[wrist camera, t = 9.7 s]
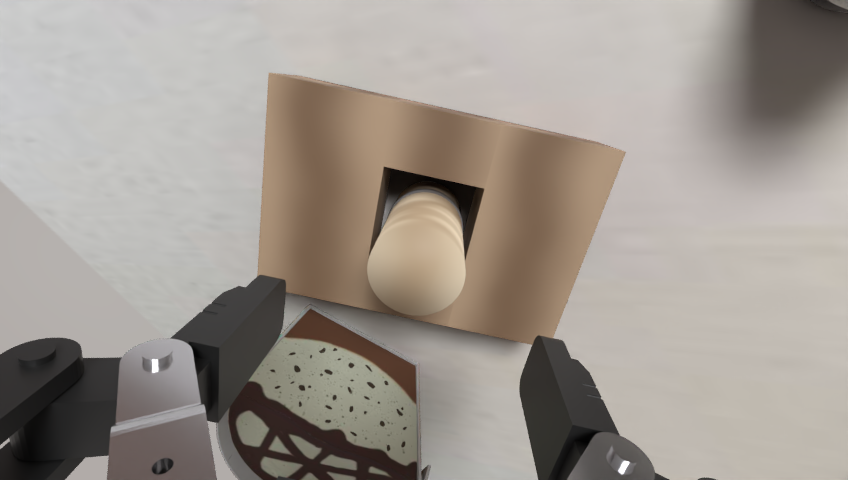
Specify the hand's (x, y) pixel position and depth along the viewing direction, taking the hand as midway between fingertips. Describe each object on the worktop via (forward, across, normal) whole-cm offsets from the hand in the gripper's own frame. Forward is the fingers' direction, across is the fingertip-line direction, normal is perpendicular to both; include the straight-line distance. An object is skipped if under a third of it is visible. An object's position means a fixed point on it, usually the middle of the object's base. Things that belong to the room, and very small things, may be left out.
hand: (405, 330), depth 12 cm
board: (+14, 0, 0) cm, 14 cm away
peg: (+14, 0, 0) cm, 14 cm away
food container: (+14, +4, +13) cm, 20 cm away
